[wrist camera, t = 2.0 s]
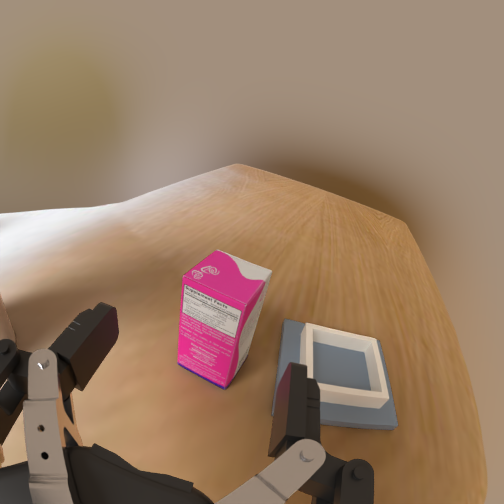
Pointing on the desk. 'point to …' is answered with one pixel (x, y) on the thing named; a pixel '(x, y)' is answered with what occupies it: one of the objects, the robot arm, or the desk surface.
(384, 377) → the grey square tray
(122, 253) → the desk surface
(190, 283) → the supplement box
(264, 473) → the robot arm
